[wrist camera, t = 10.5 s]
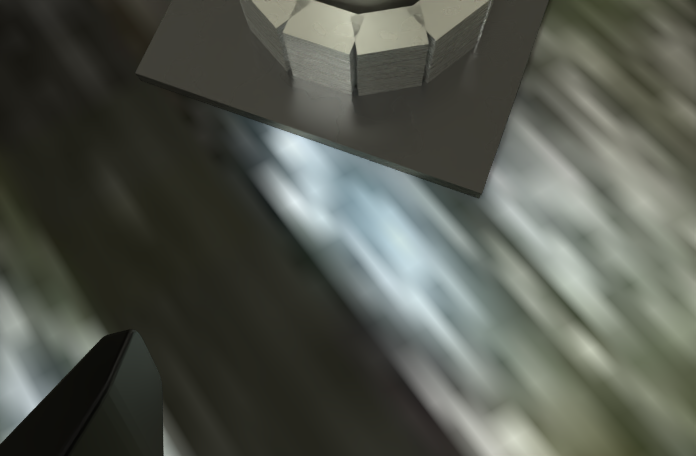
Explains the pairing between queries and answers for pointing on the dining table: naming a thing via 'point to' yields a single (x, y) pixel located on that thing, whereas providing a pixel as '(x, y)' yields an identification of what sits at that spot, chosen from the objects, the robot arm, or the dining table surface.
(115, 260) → the dining table surface
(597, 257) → the dining table surface
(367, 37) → the segmented ring base
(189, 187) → the dining table surface
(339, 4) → the cream bottle
